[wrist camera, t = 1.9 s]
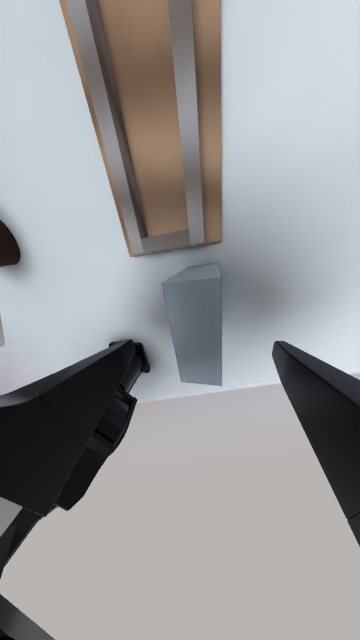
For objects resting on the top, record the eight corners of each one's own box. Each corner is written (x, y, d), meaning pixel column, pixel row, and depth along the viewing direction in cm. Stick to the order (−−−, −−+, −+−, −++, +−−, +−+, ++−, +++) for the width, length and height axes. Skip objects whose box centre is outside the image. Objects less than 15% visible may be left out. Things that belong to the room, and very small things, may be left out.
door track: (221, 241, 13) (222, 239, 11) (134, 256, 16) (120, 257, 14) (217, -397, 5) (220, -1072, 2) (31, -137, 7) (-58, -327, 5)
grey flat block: (218, 327, 18) (221, 385, 10) (194, 327, 19) (181, 381, 11) (217, 263, 14) (221, 277, 7) (188, 266, 15) (161, 283, 7)
